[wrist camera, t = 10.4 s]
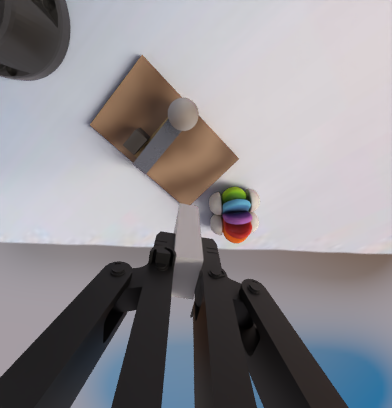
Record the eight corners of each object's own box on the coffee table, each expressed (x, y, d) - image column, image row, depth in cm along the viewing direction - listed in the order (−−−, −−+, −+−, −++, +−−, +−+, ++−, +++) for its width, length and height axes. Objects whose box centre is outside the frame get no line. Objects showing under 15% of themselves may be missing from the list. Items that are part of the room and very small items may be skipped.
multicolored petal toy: (210, 231, 42) (214, 255, 35) (207, 184, 38) (211, 201, 31) (253, 228, 42) (266, 251, 35) (255, 181, 38) (270, 196, 31)
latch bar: (170, 116, 32) (168, 117, 29) (183, 128, 32) (182, 130, 30) (137, 159, 34) (132, 163, 31) (149, 169, 35) (145, 174, 32)
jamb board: (92, 124, 33) (75, 127, 28) (146, 52, 29) (137, 41, 25) (186, 206, 39) (186, 220, 34) (240, 154, 36) (248, 162, 31)
